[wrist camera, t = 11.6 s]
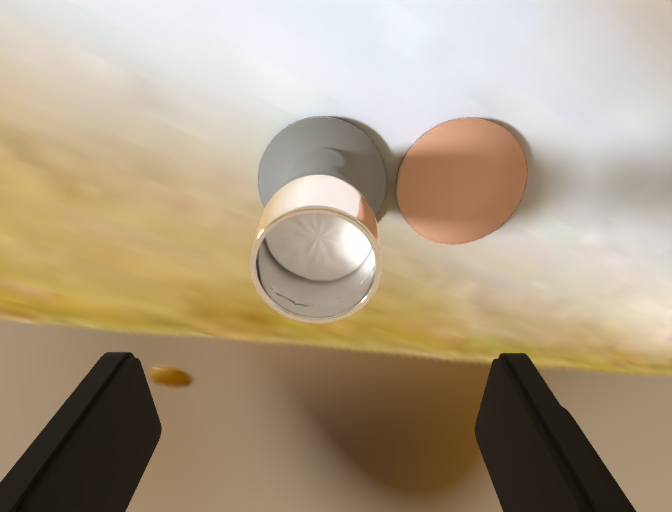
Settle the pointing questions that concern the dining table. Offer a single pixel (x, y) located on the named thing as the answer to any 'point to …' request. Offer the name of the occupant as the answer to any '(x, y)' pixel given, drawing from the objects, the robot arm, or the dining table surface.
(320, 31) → the dining table surface
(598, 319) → the dining table surface
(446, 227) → the terracotta coaster
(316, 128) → the slate coaster
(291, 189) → the beer glass
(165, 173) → the dining table surface
